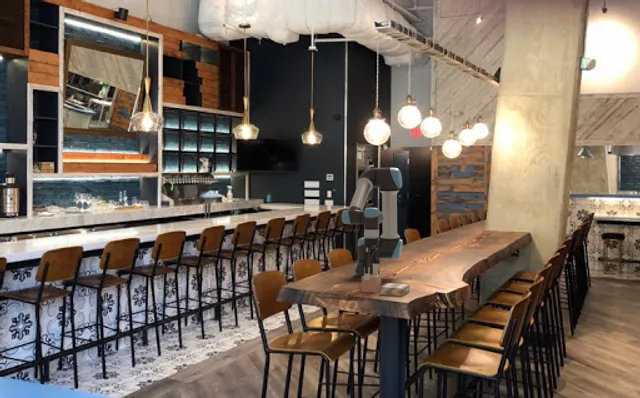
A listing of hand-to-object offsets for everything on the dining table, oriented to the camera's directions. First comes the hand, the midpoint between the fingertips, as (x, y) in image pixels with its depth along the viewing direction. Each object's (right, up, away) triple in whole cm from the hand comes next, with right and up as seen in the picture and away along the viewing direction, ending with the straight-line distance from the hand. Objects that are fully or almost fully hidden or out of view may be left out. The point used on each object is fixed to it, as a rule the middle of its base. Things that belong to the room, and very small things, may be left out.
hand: (371, 277), depth 328 cm
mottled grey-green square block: (+12, -7, -5) cm, 15 cm away
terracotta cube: (0, -7, +1) cm, 7 cm away
